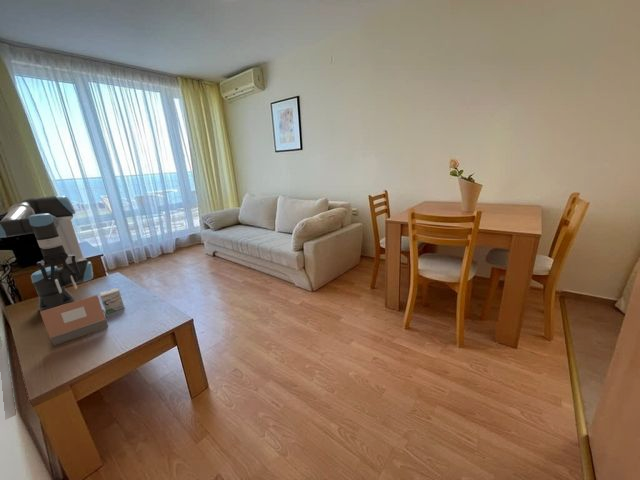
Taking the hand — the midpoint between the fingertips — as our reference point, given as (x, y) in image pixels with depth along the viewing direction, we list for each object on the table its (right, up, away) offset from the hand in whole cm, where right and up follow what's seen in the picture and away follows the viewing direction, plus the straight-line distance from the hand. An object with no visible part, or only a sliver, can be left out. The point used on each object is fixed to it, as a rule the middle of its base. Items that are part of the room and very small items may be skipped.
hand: (68, 290), depth 128 cm
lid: (+8, -11, -5) cm, 15 cm away
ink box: (+8, -15, +20) cm, 26 cm away
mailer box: (+5, -21, +2) cm, 22 cm away
